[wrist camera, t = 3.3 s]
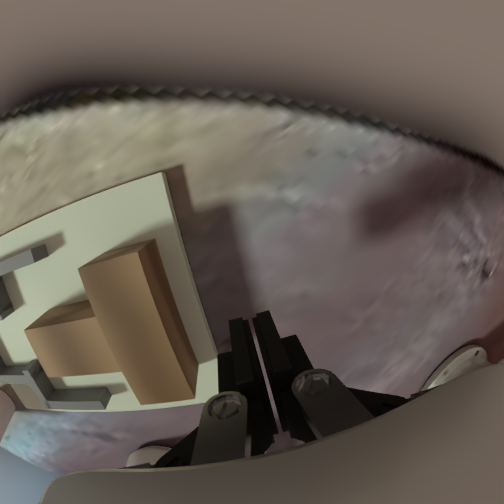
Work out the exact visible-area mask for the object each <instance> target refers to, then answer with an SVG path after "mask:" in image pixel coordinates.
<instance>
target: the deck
mask: <svg viewBox="0 0 504 504" xmlns="http://www.w3.org/2000/svg"><path fill="white" fill-rule="evenodd" d="M153 238H155V239H156V243H157V246H158V249H159V253H160V256H161V259H162V263H163V266H164V269H165V272H166V275H167V279H168V282H169V285H170V288H171V291H172V294H173V297H174V300H175V302H176V305H177V308H178V311H179V314H180V317H181V319H182V322H183V325H184V328H185V330H186V333H187V336H188V338H189V341H190V344H191V346H192V349H193V351H194V354H195V356H196V359H197V361H198V364H199V368H198V377H197V385H196V395H195V399H190V400H183V401H176V402H167V403H158V404H148V405H141V404H140V403H139V401H138V399H137V398H136V396H135V394H134V393H133V391H132V389H131V387H130V386H129V384H128V382H127V380H126V378H125V377H124V375H123V373H122V372H115V373H105V374H95V375H82V376H67V377H48V376H47V374H46V372H45V371H44V369H43V367H42V365H41V364H40V362H39V360H38V358H37V356H36V354H35V352H34V351H33V349H32V347H31V345H30V343H29V341H28V339H27V336H26V334H25V332H24V330H25V329H26V328H27V327H28V326H29V325H31V324H32V323H33V322H34V321H35V320H37V319H38V318H39V317H40V316H41V315H43V314H44V313H45V312H46V311H47V310H49V309H51V308H55V307H60V306H64V305H68V304H73V303H77V302H81V301H86V300H89V299H88V296H87V294H86V291H85V289H84V286H83V283H82V280H81V277H80V275H79V272H78V268H80V267H81V266H83V265H84V264H86V263H88V262H89V261H91V260H93V259H94V258H96V257H98V256H99V255H101V254H103V253H105V252H108V251H111V250H115V249H118V248H122V247H125V246H129V245H132V244H135V243H139V242H143V241H146V240H150V239H153ZM217 355H218V351H217V349H216V346H215V343H214V340H213V337H212V334H211V331H210V328H209V325H208V322H207V319H206V316H205V313H204V310H203V307H202V304H201V301H200V298H199V294H198V291H197V288H196V285H195V281H194V278H193V275H192V272H191V268H190V265H189V261H188V258H187V254H186V251H185V247H184V244H183V240H182V237H181V233H180V229H179V226H178V222H177V218H176V214H175V211H174V207H173V203H172V199H171V195H170V191H169V187H168V183H167V178H166V174H165V173H163V172H160V173H156V174H153V175H150V176H147V177H144V178H141V179H138V180H135V181H132V182H129V183H126V184H123V185H120V186H117V187H114V188H111V189H109V190H106V191H103V192H100V193H98V194H95V195H92V196H90V197H87V198H85V199H82V200H80V201H77V202H75V203H72V204H70V205H67V206H65V207H63V208H60V209H58V210H56V211H53V212H51V213H49V214H46V215H44V216H42V217H40V218H38V219H35V220H33V221H31V222H29V223H27V224H25V225H23V226H21V227H19V228H17V229H15V230H13V231H11V232H9V233H7V234H5V235H3V236H1V237H0V381H1V383H6V384H10V385H11V386H12V388H13V389H14V391H15V393H16V394H17V396H18V397H19V399H20V400H21V402H22V403H23V405H24V406H25V407H26V409H36V410H49V411H70V412H110V411H132V410H146V409H157V408H167V407H175V406H183V405H191V404H198V403H204V402H207V401H208V399H210V398H211V397H212V396H214V395H216V394H219V393H218V364H217Z"/></svg>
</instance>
